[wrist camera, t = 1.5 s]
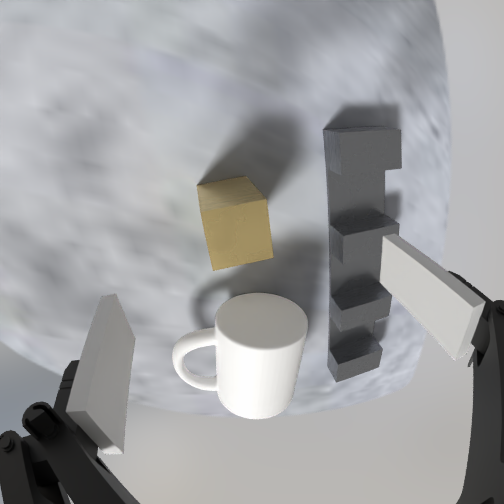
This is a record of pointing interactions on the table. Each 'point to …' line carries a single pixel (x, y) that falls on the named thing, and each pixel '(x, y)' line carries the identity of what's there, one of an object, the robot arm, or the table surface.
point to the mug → (250, 353)
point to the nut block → (235, 222)
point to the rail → (357, 242)
